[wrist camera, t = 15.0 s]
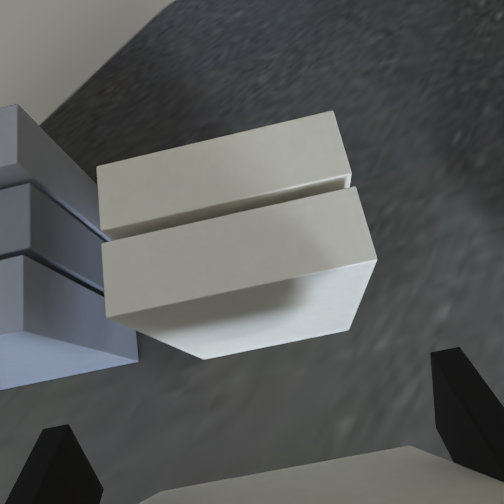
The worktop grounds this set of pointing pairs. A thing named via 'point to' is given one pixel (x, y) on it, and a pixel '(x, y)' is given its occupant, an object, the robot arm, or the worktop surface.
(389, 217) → the worktop surface
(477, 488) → the thin white book
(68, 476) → the robot arm
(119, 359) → the grey books
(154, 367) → the worktop surface
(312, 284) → the white books
